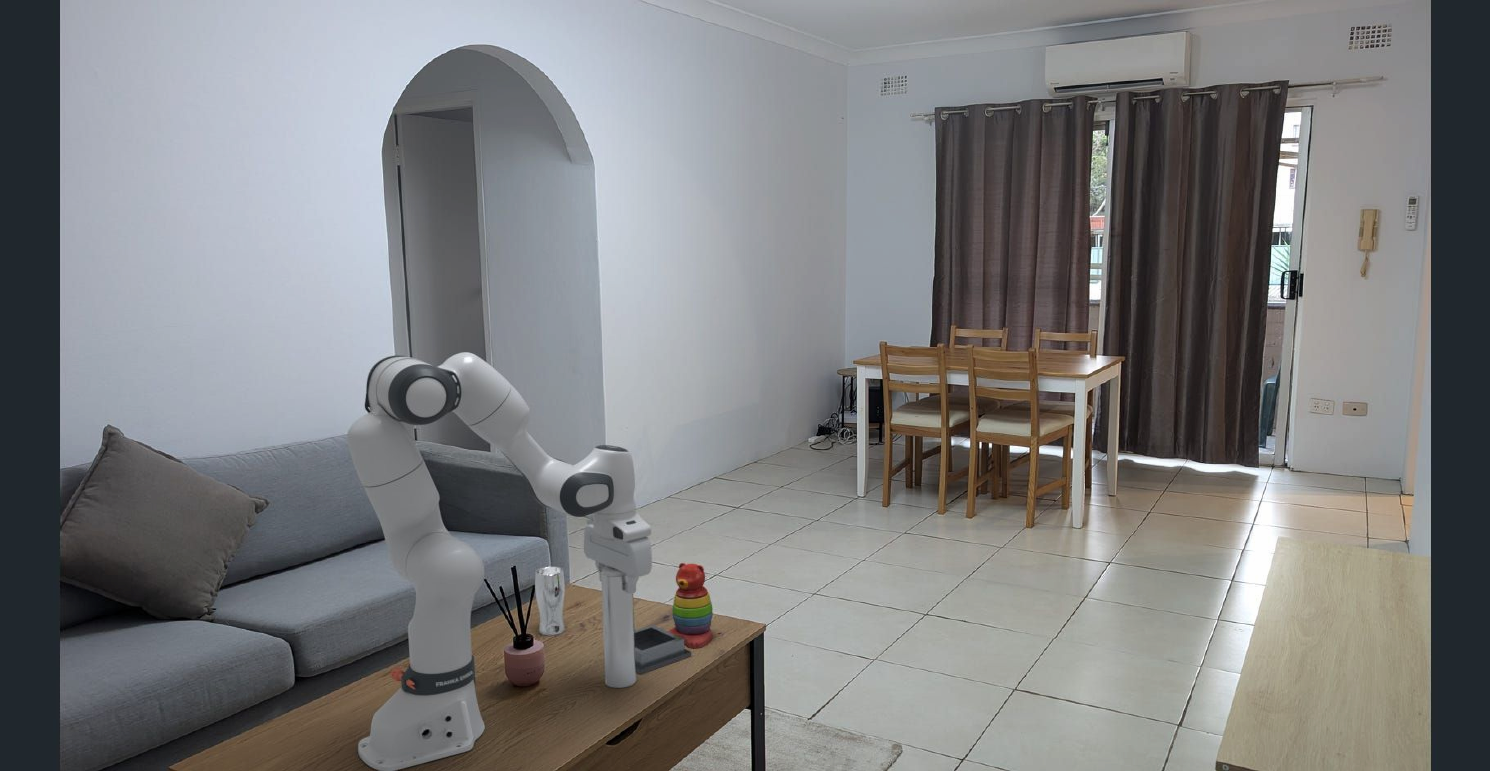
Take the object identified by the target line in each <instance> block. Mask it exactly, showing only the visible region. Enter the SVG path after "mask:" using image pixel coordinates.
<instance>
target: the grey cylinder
mask: <svg viewBox="0 0 1490 771" xmlns="http://www.w3.org/2000/svg"><path fill="white" fill-rule="evenodd" d="M628 579H629V578H627V573H624V572H622V571H619V570H617V569H614V568H612V567H609V566H607V565H606V566H605V567H603V568H602V572H601V581H600V582H601V604H602V605H601V606H602V610H601V611H602V629H603V632H602V634H603V635H602V636H603V656H604V658H603V659H604V661H603V662H604V681H605V682H604V684H605V685H606V686H607V687H609V688H612V689H621V688H622V689H624V688H628V687H631V686H632V685H633V686H634V684H635V683H636V682H637V673H636V662H635V632H634V631H635V609H634V608H635V606H634V593H632V594H629V593H627V592H625V584H627V583H628Z"/></svg>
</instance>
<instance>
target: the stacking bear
mask: <svg viewBox="0 0 1490 771" xmlns="http://www.w3.org/2000/svg"><path fill="white" fill-rule="evenodd" d="M676 572H677V573H676V574H675V583H676V585H677V587H678V588H677V589H676V591H675V594H674V597H673V603H672V609H671V610H672V618H673V622H674V626H675V627H672V628H671V629H669V630H668V632H670V633H672V634H674V635H676V636H679V637H681V638H683V639H684V646H687V647H688V648H691V649H700V648H702V647H704V646H706V645H708V644H709V643H710V642H711V641H712V638H713V631H712V629H711V626H712V619H713V605H712V604H713V603H712V601H711V596H710V593H709V591H708V589H707V588H706V587H705V586H704V585H705V581H706V573H705V568H704V566H702V565H700V564H696V563H684V562H681V563H680V564H679V565H678V570H677V571H676Z"/></svg>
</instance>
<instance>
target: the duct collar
mask: <svg viewBox="0 0 1490 771" xmlns="http://www.w3.org/2000/svg"><path fill="white" fill-rule="evenodd" d="M668 631H669V630H668ZM668 631H667V630H665V629H663V628H661V627H659V626H656V625H654V624H651V625H648V626H645V627H642V628H641V627H640V628H639V629H636V630H635V629H634V632H635V662H636V674H638V675H644V674H646V673H648V672H650V671H654V670H657V669H660V668H663V667H665V666H668V665H670V664H673V663H676V662H680V661H682V660H685V659H687V658H690V657H692V651H690V650H688V649H686V648H685V644H684V639H683V638H681V637H679V636H676V635H674V634H672V633H670V632H668Z"/></svg>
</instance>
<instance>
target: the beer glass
mask: <svg viewBox="0 0 1490 771" xmlns="http://www.w3.org/2000/svg"><path fill="white" fill-rule="evenodd" d="M564 576H565V574H564V569H563V567H559V566H544V567H541V568H538V569H536V570H535V578H534V579H535V580H534V585H535V586H534V589H535V590H534V592H535V598H536V604H537V607H538V613H539V620H540V621H539V628H538V633H539V634H540V635H542V636H550V637H551V636H556V635H557V636H558V635H561V634H563V633H564V632H565V630H566V628H565V623H564V618H563V616H564V615H563V612H564V603H565V595H566V583H565V582H566V581H565V577H564Z"/></svg>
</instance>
